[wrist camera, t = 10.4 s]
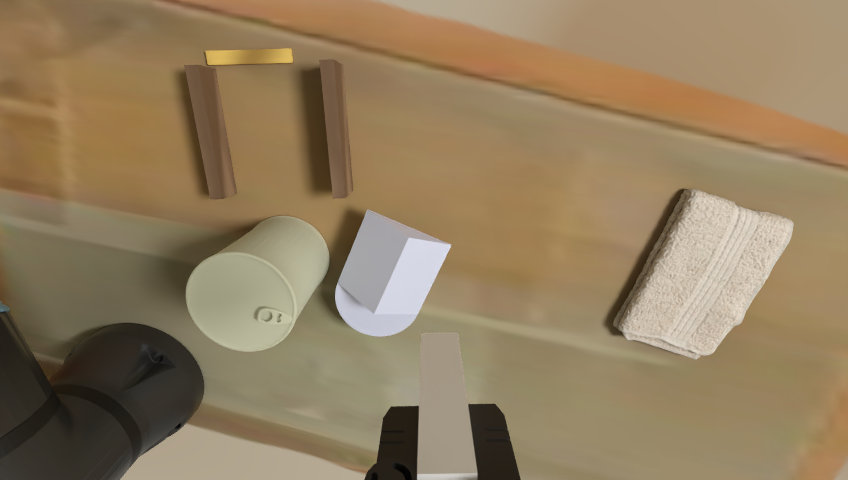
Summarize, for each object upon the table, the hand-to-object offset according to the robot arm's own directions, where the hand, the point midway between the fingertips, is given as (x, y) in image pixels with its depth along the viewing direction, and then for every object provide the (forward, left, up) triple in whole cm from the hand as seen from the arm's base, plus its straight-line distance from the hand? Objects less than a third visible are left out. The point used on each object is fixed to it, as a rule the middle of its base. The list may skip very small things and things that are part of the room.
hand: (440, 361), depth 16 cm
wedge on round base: (-5, -7, -27) cm, 28 cm away
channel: (-15, +8, -27) cm, 32 cm away
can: (-16, -5, -27) cm, 31 cm away
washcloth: (+29, -8, -27) cm, 40 cm away
